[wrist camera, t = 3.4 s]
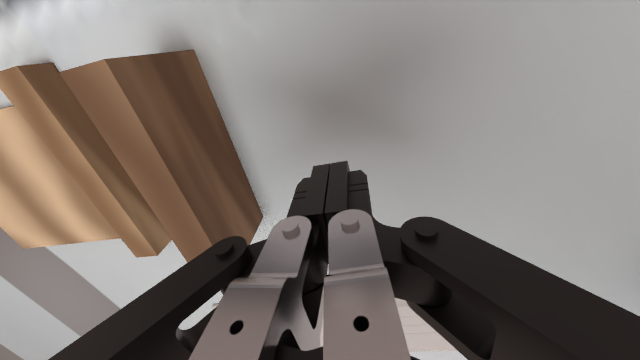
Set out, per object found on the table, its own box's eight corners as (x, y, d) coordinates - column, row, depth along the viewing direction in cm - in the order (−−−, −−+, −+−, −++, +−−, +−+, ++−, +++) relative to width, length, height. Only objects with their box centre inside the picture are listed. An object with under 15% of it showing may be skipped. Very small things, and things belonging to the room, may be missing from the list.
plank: (194, 49, 16) (104, 59, 10) (263, 216, 23) (232, 280, 17) (162, 58, 17) (58, 72, 11) (239, 218, 24) (200, 282, 18)
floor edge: (52, 62, 18) (16, 66, 16) (171, 239, 26) (157, 255, 24) (-96, 107, 21) (-140, 114, 19) (51, 251, 29) (31, 266, 27)
